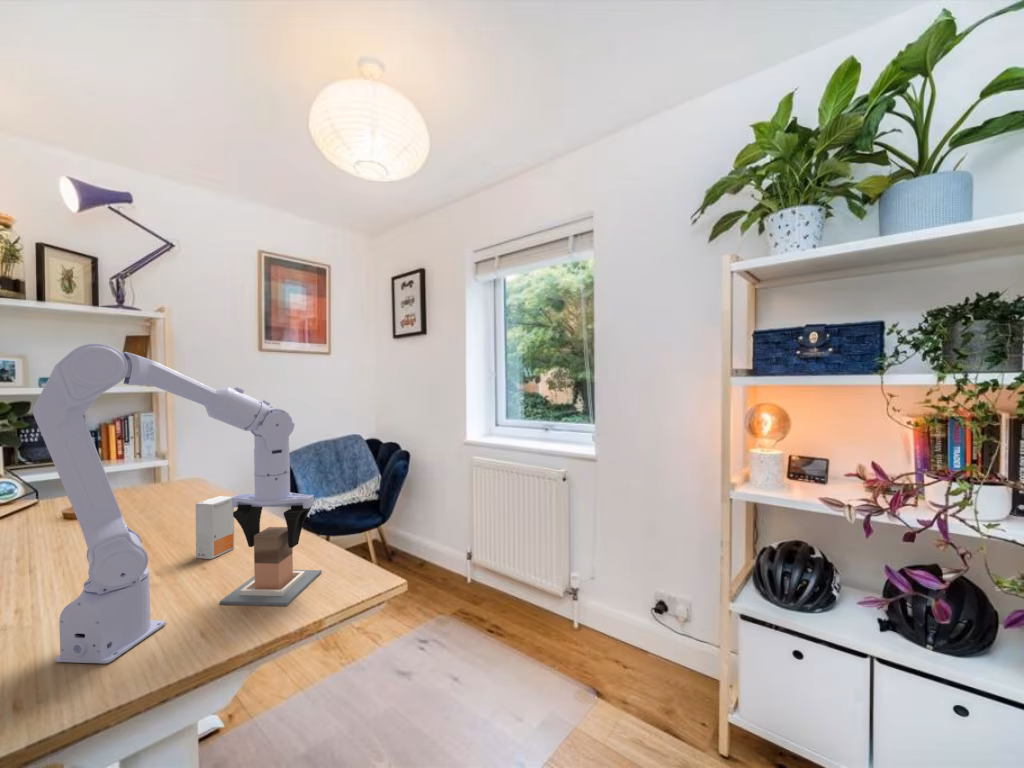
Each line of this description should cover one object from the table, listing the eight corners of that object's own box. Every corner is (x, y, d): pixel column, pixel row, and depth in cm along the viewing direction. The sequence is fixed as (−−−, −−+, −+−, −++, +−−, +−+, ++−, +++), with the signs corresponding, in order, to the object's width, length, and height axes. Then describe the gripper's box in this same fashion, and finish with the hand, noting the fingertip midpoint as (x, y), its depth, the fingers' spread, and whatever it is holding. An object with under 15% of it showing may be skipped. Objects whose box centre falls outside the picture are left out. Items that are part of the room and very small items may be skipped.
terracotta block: (278, 591, 77) (278, 563, 77) (254, 590, 77) (254, 563, 77) (292, 578, 81) (292, 553, 81) (270, 578, 82) (269, 552, 81)
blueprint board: (287, 605, 73) (287, 598, 73) (219, 604, 73) (219, 596, 73) (321, 572, 85) (321, 566, 85) (263, 571, 85) (263, 565, 85)
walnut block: (278, 563, 77) (277, 536, 77) (254, 563, 77) (253, 535, 77) (292, 553, 81) (292, 527, 81) (269, 552, 81) (269, 526, 81)
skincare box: (212, 560, 91) (210, 504, 90) (195, 558, 92) (194, 503, 91) (235, 548, 97) (234, 496, 96) (220, 547, 98) (219, 495, 97)
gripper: (321, 468, 82) (322, 537, 83) (248, 467, 83) (250, 536, 83) (301, 477, 75) (302, 552, 76) (222, 476, 76) (224, 551, 76)
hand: (273, 545), depth 79 cm, fingers open, 7 cm apart
